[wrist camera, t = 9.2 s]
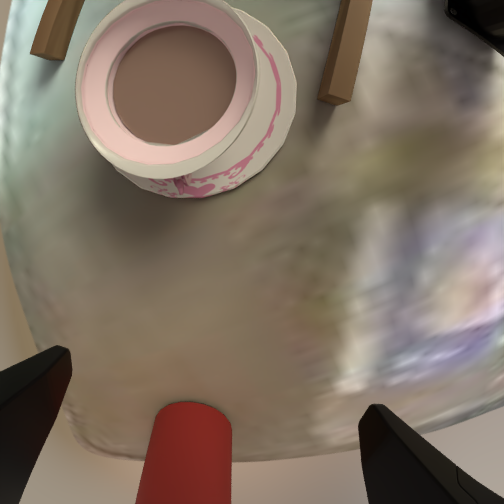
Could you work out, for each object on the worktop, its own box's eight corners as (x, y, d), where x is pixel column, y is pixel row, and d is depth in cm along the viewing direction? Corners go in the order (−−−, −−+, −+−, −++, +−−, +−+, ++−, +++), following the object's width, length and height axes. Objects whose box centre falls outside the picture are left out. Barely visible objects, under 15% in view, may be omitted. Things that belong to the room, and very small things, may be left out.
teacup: (89, 33, 15) (38, 4, 9) (280, -5, 14) (296, -56, 9) (111, 211, 19) (62, 242, 13) (306, 183, 18) (335, 204, 13)
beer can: (201, 387, 23) (184, 526, 12) (246, 430, 25) (250, 551, 14) (141, 411, 24) (108, 528, 13) (188, 450, 26) (176, 557, 15)
